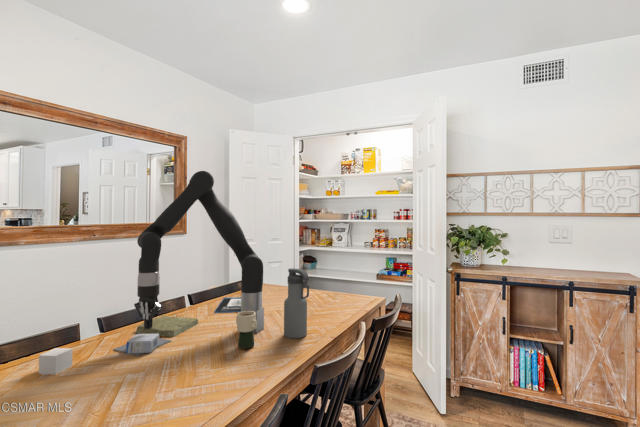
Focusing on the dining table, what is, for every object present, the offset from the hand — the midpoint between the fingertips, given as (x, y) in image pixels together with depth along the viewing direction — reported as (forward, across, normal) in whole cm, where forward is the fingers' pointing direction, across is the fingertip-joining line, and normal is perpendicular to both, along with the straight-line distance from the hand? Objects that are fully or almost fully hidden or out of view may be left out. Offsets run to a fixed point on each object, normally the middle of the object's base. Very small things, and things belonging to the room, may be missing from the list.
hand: (148, 328), depth 126 cm
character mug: (+7, -35, -14) cm, 39 cm away
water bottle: (+7, -47, -34) cm, 58 cm away
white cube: (+7, +11, +26) cm, 29 cm away
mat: (+7, +2, 0) cm, 7 cm away
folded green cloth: (+8, +10, -18) cm, 22 cm away
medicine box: (+4, -5, +1) cm, 7 cm away
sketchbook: (+8, +4, -64) cm, 64 cm away
